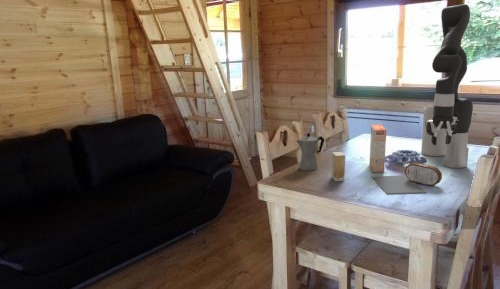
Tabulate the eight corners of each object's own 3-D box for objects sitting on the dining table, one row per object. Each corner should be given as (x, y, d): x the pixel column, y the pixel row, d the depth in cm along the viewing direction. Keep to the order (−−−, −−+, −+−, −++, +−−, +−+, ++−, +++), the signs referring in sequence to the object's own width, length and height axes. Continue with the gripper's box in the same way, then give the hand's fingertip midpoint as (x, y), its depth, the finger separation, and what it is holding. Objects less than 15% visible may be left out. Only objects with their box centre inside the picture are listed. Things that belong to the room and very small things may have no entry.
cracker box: (385, 173, 188) (386, 129, 183) (371, 172, 189) (373, 129, 184) (381, 164, 201) (383, 124, 196) (369, 164, 203) (370, 124, 198)
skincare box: (331, 177, 185) (331, 151, 182) (340, 176, 185) (340, 151, 182) (335, 181, 179) (335, 155, 176) (344, 181, 179) (345, 154, 176)
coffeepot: (301, 172, 194) (300, 136, 190) (292, 167, 203) (292, 132, 198) (328, 168, 199) (329, 133, 195) (319, 163, 208) (319, 129, 203)
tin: (440, 186, 168) (443, 167, 166) (438, 188, 165) (440, 169, 163) (406, 178, 178) (408, 160, 176) (403, 179, 176) (405, 161, 174)
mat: (406, 176, 182) (406, 175, 182) (426, 192, 161) (426, 192, 161) (371, 177, 183) (371, 176, 183) (387, 194, 161) (387, 193, 161)
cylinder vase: (442, 150, 222) (446, 106, 216) (449, 156, 210) (453, 110, 204) (418, 150, 224) (421, 106, 218) (424, 156, 212) (427, 110, 206)
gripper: (456, 102, 167) (453, 141, 171) (422, 103, 167) (420, 143, 171) (466, 105, 160) (462, 146, 164) (430, 106, 160) (427, 147, 164)
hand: (440, 144), depth 168 cm, fingers open, 5 cm apart
